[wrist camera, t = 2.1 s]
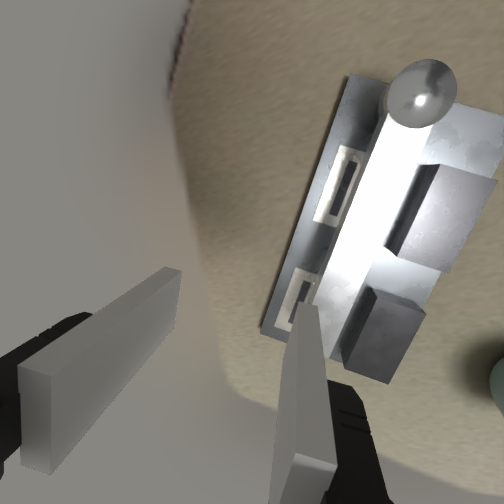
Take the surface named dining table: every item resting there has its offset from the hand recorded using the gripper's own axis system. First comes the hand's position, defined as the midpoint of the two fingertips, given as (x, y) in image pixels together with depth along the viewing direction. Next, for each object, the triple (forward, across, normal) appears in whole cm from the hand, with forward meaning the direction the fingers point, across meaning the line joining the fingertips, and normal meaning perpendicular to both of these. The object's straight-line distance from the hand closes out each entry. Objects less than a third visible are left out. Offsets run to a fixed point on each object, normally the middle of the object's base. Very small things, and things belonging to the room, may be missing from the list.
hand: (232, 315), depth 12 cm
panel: (+19, +9, +1) cm, 21 cm away
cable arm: (+14, +7, +3) cm, 16 cm away
